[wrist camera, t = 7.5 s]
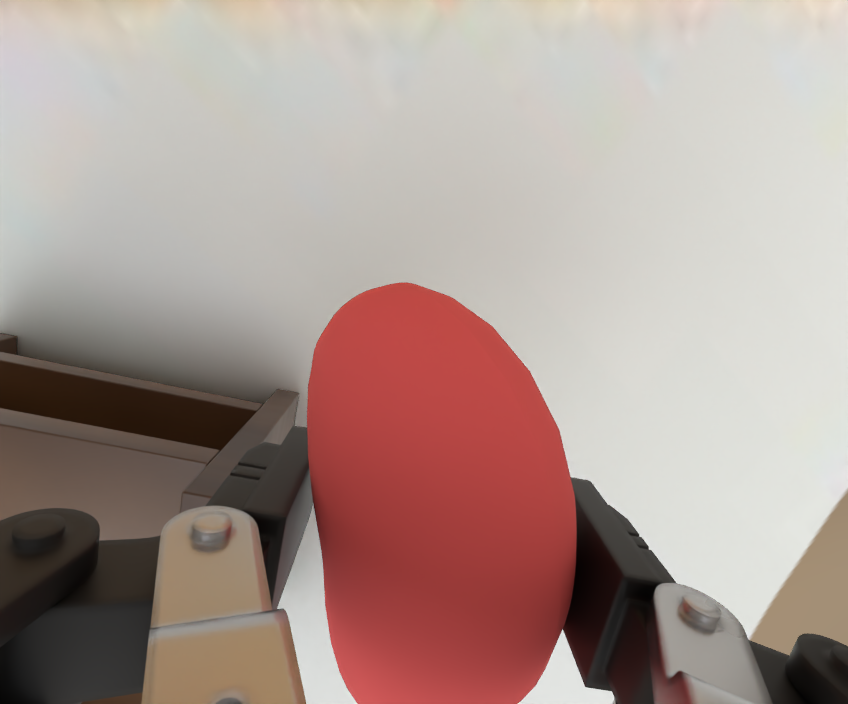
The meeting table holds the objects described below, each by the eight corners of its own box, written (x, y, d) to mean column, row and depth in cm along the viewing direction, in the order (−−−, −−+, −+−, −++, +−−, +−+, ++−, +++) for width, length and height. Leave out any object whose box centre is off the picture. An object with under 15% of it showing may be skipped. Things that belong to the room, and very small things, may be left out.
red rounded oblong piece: (587, 340, 13) (605, 251, 7) (559, 714, 11) (550, 1019, 5) (401, 328, 14) (282, 246, 8) (358, 656, 13) (177, 842, 7)
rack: (-6, 331, 25) (-322, 399, 14) (299, 392, 26) (219, 498, 15) (-11, 547, 28) (-277, 739, 17) (265, 594, 29) (176, 803, 18)
